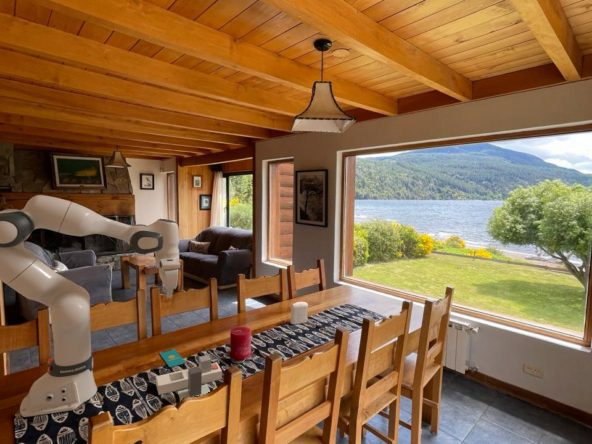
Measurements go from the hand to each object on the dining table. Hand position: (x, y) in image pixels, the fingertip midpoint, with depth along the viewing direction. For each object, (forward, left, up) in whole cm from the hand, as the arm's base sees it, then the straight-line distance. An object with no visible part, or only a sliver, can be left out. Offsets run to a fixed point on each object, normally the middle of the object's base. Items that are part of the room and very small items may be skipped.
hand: (167, 293), depth 135 cm
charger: (+7, -18, -34) cm, 39 cm away
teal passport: (+4, +12, -35) cm, 37 cm away
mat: (+7, -18, -34) cm, 39 cm away
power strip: (+7, -9, -34) cm, 36 cm away
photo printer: (+76, +23, -34) cm, 87 cm away
